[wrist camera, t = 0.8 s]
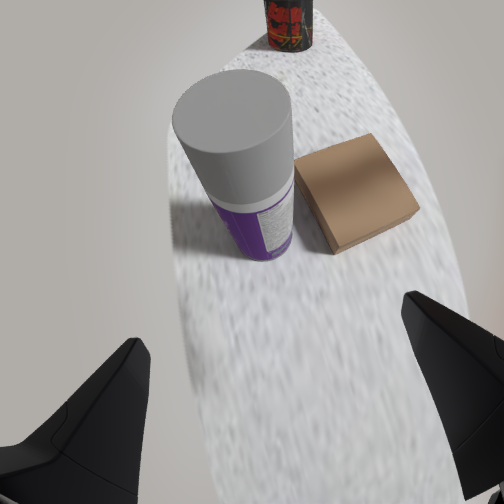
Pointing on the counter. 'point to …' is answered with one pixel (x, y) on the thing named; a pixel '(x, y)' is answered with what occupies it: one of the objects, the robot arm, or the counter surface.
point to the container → (243, 155)
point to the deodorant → (289, 24)
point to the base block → (354, 191)
